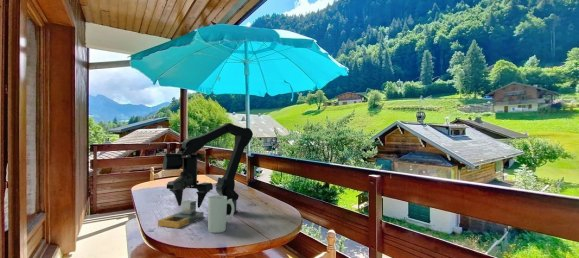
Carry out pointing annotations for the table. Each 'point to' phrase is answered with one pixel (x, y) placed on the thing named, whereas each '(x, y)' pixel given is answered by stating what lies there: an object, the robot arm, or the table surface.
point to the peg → (188, 207)
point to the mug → (218, 213)
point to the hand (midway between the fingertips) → (189, 206)
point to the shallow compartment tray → (179, 219)
